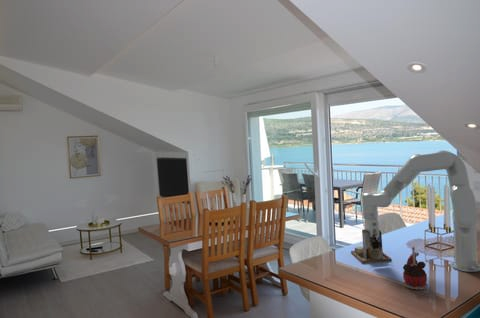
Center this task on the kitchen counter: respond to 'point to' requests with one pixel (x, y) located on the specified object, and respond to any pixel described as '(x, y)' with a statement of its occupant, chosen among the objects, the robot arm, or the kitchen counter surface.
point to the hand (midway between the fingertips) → (372, 246)
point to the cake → (414, 272)
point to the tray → (362, 259)
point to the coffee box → (367, 246)
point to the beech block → (359, 251)
